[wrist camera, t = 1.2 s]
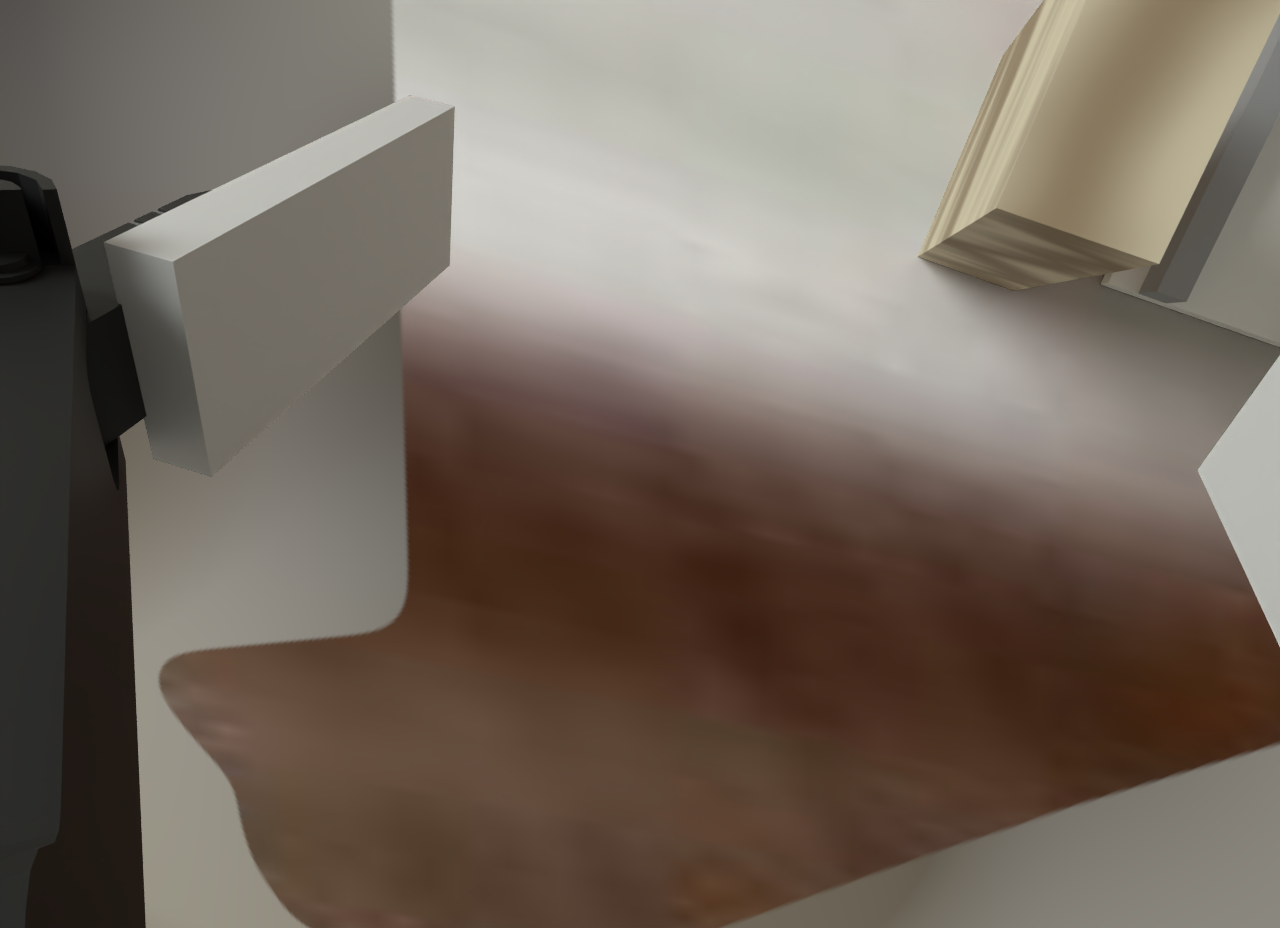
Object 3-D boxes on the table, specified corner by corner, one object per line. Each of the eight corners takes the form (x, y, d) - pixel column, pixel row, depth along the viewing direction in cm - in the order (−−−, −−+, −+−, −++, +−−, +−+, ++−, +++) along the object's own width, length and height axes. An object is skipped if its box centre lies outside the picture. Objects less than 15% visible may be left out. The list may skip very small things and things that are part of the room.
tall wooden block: (917, 256, 39) (996, 207, 24) (1002, 55, 37) (1147, -141, 22) (1013, 290, 39) (1159, 264, 23) (1104, 89, 37) (1328, -89, 21)
